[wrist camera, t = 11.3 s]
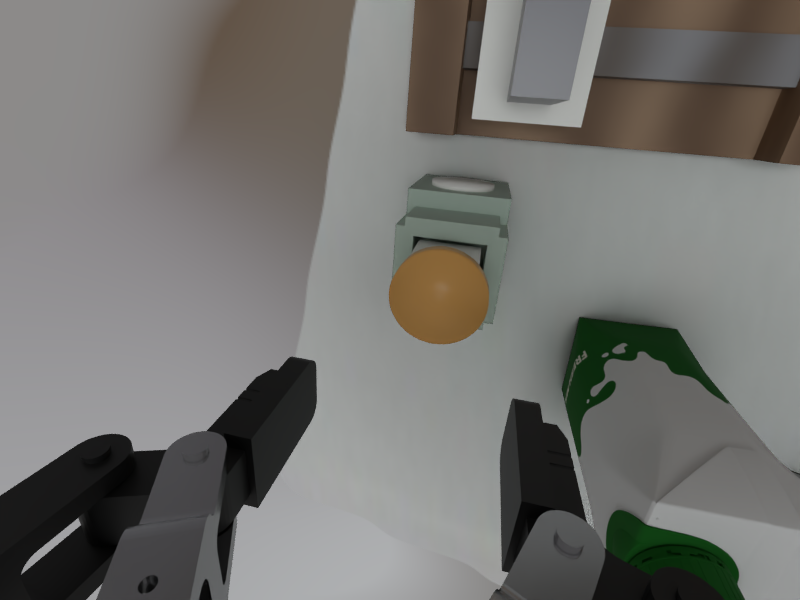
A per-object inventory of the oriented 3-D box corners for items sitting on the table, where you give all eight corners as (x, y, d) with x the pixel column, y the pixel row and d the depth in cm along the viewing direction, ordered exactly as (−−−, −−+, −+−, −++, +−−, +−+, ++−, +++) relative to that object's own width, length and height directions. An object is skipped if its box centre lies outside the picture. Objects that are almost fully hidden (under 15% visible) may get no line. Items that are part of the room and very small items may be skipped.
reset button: (496, 236, 22) (496, 259, 18) (482, 316, 24) (480, 351, 20) (408, 225, 23) (392, 245, 19) (401, 304, 25) (386, 335, 21)
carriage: (610, -39, 21) (675, -127, 14) (573, 127, 25) (608, 129, 17) (494, -41, 22) (495, -124, 15) (473, 119, 26) (464, 118, 18)
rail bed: (882, -38, 21) (959, -69, 18) (792, 162, 26) (841, 168, 22) (430, -45, 25) (420, -72, 22) (416, 129, 29) (405, 131, 26)
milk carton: (569, 305, 32) (664, 536, 14) (696, 320, 31) (980, 601, 13) (548, 396, 36) (602, 672, 18) (660, 413, 34) (843, 735, 16)
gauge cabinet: (508, 178, 29) (515, 203, 20) (489, 284, 33) (488, 346, 24) (426, 170, 30) (398, 191, 21) (416, 274, 34) (388, 329, 25)
